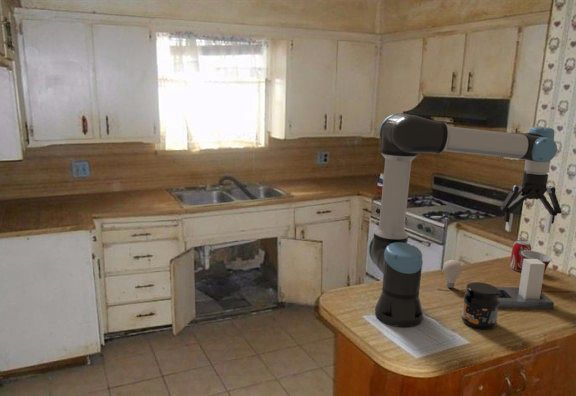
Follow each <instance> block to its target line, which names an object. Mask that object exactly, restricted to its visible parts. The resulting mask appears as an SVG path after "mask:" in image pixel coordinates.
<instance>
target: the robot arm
mask: <svg viewBox="0 0 576 396" xmlns="http://www.w3.org/2000/svg"><path fill="white" fill-rule="evenodd" d="M378 135H379V139H380V141H381V151H380V152H381V153H380V155H382V157H383V158H384V168H383V178H382V180H383V181H382V191H381V201H380V210H379V211H380V212H379V222H378V227H377V228H376V229H374V230H373V237H372V238H371V240H370V241H369V245H368V255H369V257H370V260H371V261H372V263H373V264H374V265H375V266H376V267H377V268H378V270H379V271H380V272H381V273H382V275H383V277H382V288H381V289H382V291H381V293H380V296H379V297H378V300H377V302H376V304H375V311H374V314H375V316H376V318H377V319H378V320H379V321H381V322H382V323H384V324H387V325H390V326H394V327H397V328H398V327H399V328H410V327H415V326H418V325H420V324H421V323H422V322H423V317H424V316H423V315H424V314H423V313H424V311H423V308H422V303H421V299H420V289H421V288H420V287H421V277H422V270H423V269H422V268H423V253H422V251H421V250H420V249H419V248H418V247H417V246H415V245H412V244H410V243H408V241H409V240H408V239H409V234H408V233H407V231H406V230H405V225H406V216H407V215H406V214H407V206H408V198H409V197H408V196H409V188H410V178H411V169H412V161H413V160H415V159H416V158H417V157H418V154H436V155H439V154H442V153H443V152H449V153H459V154H468V155H469V154H470V155H480V156H487V157H488V156H489V157H499V158H509V159H518V160H525V162H524V168H523V169H524V172H523V176H522V185H520V186H519V185H516V184H513V185H512V187H511V191H510V192H509V194H508V195H507V197H506V198H505V199H504V201H503V202H502V204H501V206H500V208H499V210H500V211H502V212H504V218H503V220H504V222H505V229H504V230H505V231H507V232H508V233H511V231H512V224H513V217H514V214H513V213H512V212H514V211H515V209H516V208H517V207H519V206H520V205H521V204H522V203H523V202H524V201H526V200H540V202H541V204H543V206H544V207H545V208H546V211H547V212H548V213H546V214H545V221H544V227H543V232H545V233H546V234H550V233H551V229H552V224H554V222H555V218H556V217H557V216H558V214H562V212H563V211H562V208H561V206H560V203H559V200H558V197H557V194H556V187H554V186H551V185H549V186H547V184H548V180H549V175H548V173H549V172H550V168H551V167H550V166H551V161H552V160H553V159H554V158H555V157H556V155H557V152H558V146H557V142H555V129H553V128H552V127H542V126H533V127H532V126H531V127H530V128H529V132H526V133H525V132H523V133H522V132H508V131H506V132H503V131H502V132H501V131H494V130H485V129H477V128H468V127H459V126H451V125H448V124H447V123H446V122H444V121H439V120H438V121H437V120H434V119H433V120H432V119H429V118H425V117H421V116H419V115H415V114H414V115H413V114H408V113H402V112H401V113H400V112H399V113H393V114H391V115H388V116H387V117H386V118H385V119H384V120H383V121H382V123H380V126H379V130H378ZM520 191H521V192H520ZM519 192H520V194H519V195H518V193H519ZM546 192H547V193H548V196H549V200H550V202H551V203H550V202H549V200H548V199H547V197H546V196H545V194H546ZM517 195H518V196H517ZM516 197H517V198H516ZM515 198H516V199H515Z"/></svg>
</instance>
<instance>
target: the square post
mask: <svg viewBox="0 0 576 396" xmlns="http://www.w3.org/2000/svg"><path fill="white" fill-rule="evenodd" d="M544 268H545V264H544V263H543V262H541V261H540V260H538V259H523V266H522V271H520V272H521V274H520V280H519V294H520V295H521V296H522V297H523V298H524V299H540V294H541V292H542V287H543V280H544V276H543V275H545V273H544Z"/></svg>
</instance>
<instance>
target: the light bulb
mask: <svg viewBox="0 0 576 396" xmlns="http://www.w3.org/2000/svg"><path fill="white" fill-rule="evenodd" d="M442 269H443V272H444V273H443V274H444V275H445V277H446V278H445V280H446V287H447V288H450V289H452V288H455V284H456V282H457V281H456V280H457V279H458V277H459V276H460V275H461V274H462V265H461V263H460V262H459V261H457V260H456V259H455V260H454V259H449V260H447V261H445V263H444V264H443V267H442Z"/></svg>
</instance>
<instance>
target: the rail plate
mask: <svg viewBox="0 0 576 396" xmlns="http://www.w3.org/2000/svg"><path fill="white" fill-rule="evenodd" d="M495 287H496V288H497V289H498V290H499V297H498V299H499V301H500V303H499V307H498V309H531V310H532V309H535V310H536V309H539V310H541V309H542V310H553V309H554V305H555V302H554V301H553V300H552V299H551V298H549V297H548V296H547V295H545V294H544V292H542V291H541V294H540V299H524V298H523V297H522V296H521V295H520V294H519V287H515V286H513V287H512V286H510V287H509V286H495Z"/></svg>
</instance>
